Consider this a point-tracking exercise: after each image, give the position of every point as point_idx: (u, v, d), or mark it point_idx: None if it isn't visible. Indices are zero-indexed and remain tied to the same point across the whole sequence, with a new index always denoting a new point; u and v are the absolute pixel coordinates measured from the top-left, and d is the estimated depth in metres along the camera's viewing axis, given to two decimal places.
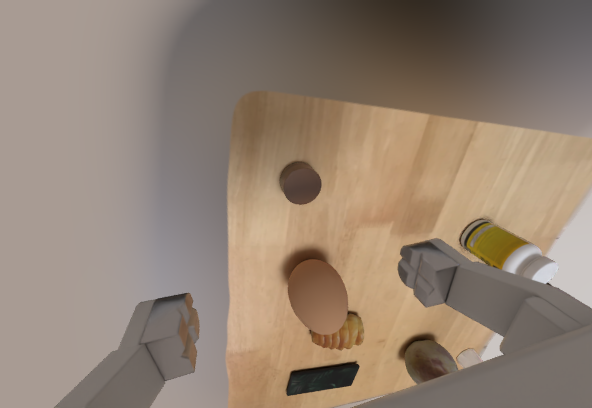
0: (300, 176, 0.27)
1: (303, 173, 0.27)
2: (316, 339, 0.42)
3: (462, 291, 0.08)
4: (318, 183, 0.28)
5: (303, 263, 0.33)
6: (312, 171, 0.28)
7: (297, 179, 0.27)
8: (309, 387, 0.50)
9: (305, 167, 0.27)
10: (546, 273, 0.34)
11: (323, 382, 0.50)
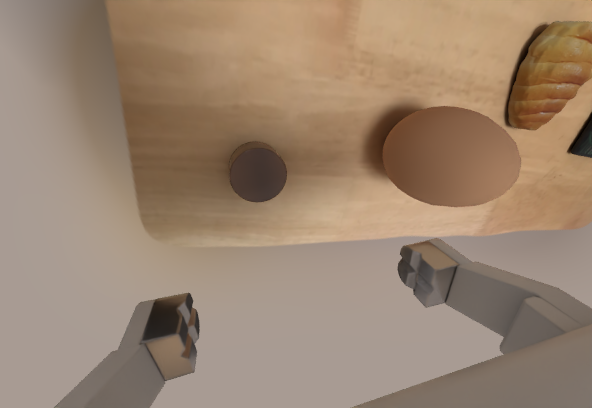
0: (243, 181, 0.19)
1: (237, 178, 0.19)
2: (535, 125, 0.25)
3: (462, 291, 0.08)
4: (253, 153, 0.18)
5: None
6: (234, 165, 0.18)
7: (247, 185, 0.19)
8: None
9: None
10: None
11: None
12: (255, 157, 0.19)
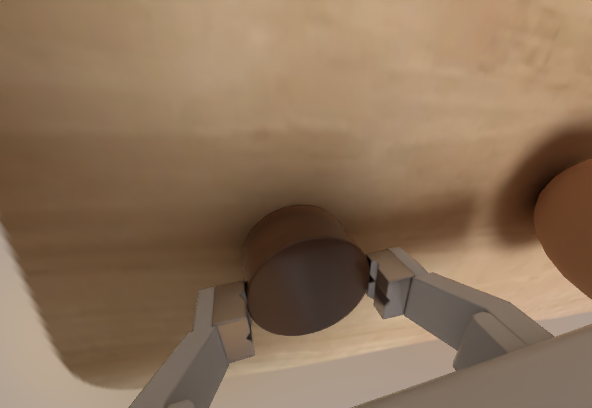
0: (276, 305, 0.08)
1: (264, 300, 0.08)
2: None
3: (418, 303, 0.08)
4: (305, 249, 0.08)
5: (552, 244, 0.11)
6: (258, 277, 0.08)
7: (284, 311, 0.09)
8: None
9: None
10: None
11: None
12: (308, 257, 0.08)
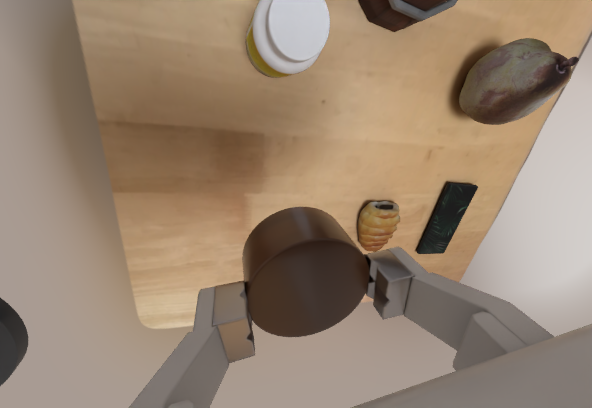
0: (276, 306, 0.08)
1: (264, 301, 0.08)
2: (374, 250, 0.42)
3: (418, 303, 0.08)
4: (305, 251, 0.08)
5: None
6: (258, 278, 0.08)
7: (284, 312, 0.09)
8: (446, 235, 0.47)
9: None
10: (296, 19, 0.17)
11: (448, 221, 0.45)
12: (307, 258, 0.08)
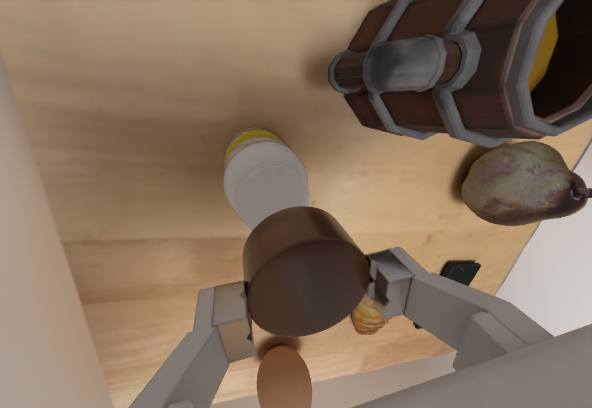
0: (276, 306, 0.08)
1: (265, 301, 0.08)
2: (368, 333, 0.39)
3: (418, 303, 0.08)
4: (305, 250, 0.08)
5: None
6: (258, 278, 0.08)
7: (284, 312, 0.09)
8: None
9: (246, 290, 0.08)
10: (269, 199, 0.15)
11: None
12: (308, 258, 0.08)
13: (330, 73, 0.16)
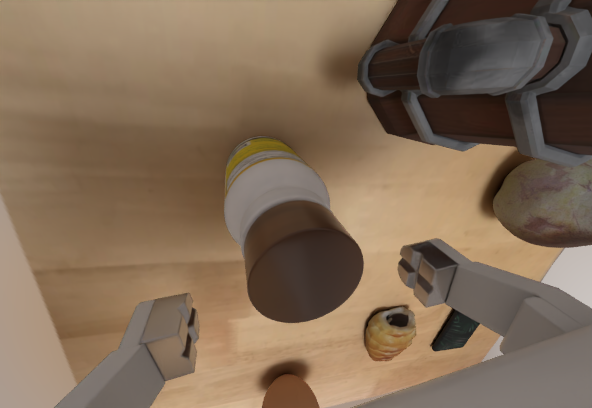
0: (275, 292, 0.09)
1: (265, 288, 0.09)
2: None
3: (462, 291, 0.08)
4: (302, 240, 0.08)
5: None
6: (258, 266, 0.08)
7: (283, 298, 0.09)
8: (467, 331, 0.40)
9: (247, 278, 0.09)
10: None
11: (470, 319, 0.39)
12: (305, 247, 0.08)
13: (363, 70, 0.12)
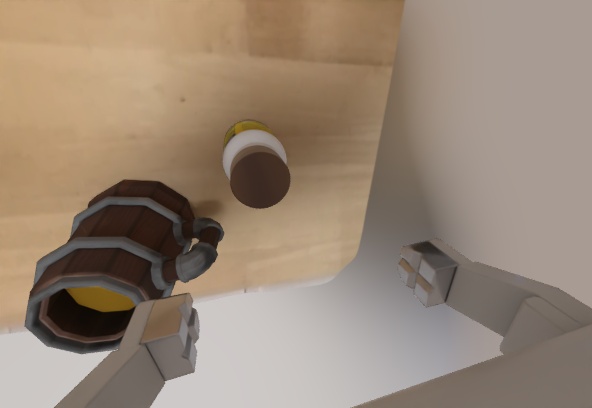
0: (277, 175, 0.18)
1: (282, 178, 0.19)
2: None
3: (462, 291, 0.08)
4: (268, 203, 0.19)
5: None
6: (286, 190, 0.19)
7: (272, 171, 0.18)
8: None
9: None
10: None
11: None
12: (266, 199, 0.19)
13: (223, 231, 0.26)
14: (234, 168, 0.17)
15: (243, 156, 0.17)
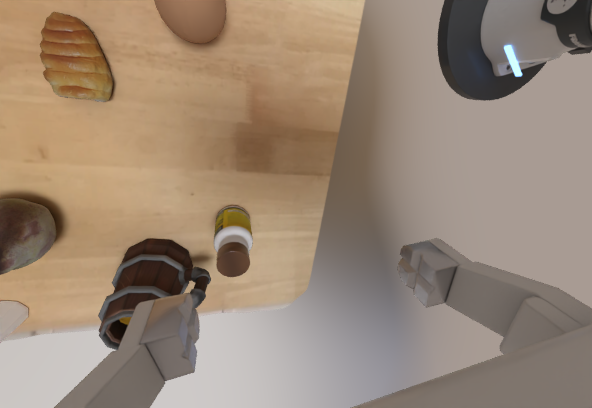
0: (242, 261, 0.34)
1: (245, 262, 0.35)
2: (60, 17, 0.28)
3: (462, 291, 0.08)
4: (236, 274, 0.35)
5: None
6: (247, 268, 0.35)
7: (240, 259, 0.34)
8: None
9: (249, 262, 0.35)
10: None
11: None
12: (236, 272, 0.35)
13: (210, 278, 0.42)
14: (219, 258, 0.33)
15: (224, 252, 0.33)
